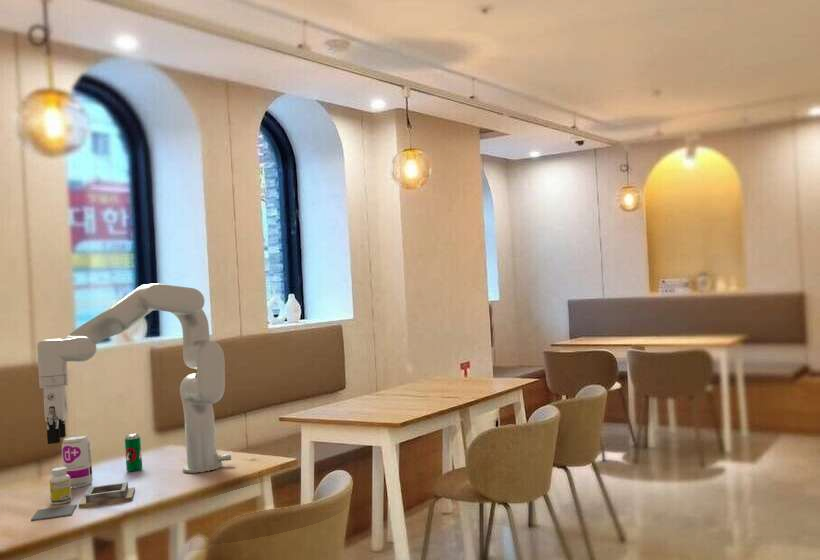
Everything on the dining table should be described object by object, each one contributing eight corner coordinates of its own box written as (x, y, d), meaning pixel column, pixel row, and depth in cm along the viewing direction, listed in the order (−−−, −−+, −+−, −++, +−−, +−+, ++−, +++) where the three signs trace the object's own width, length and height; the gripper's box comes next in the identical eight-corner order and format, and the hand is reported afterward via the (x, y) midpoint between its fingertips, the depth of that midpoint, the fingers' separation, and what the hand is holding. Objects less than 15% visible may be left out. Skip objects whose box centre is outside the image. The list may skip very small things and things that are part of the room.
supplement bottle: (55, 500, 221) (53, 467, 221) (74, 498, 222) (72, 465, 222) (48, 505, 216) (45, 471, 216) (67, 503, 216) (65, 469, 216)
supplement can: (82, 488, 234) (79, 440, 234) (58, 488, 235) (55, 440, 235) (98, 481, 242) (95, 434, 242) (75, 481, 243) (72, 435, 243)
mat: (76, 505, 213) (76, 504, 213) (71, 515, 204) (71, 513, 204) (38, 511, 211) (37, 509, 211) (30, 521, 201) (30, 519, 201)
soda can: (144, 470, 253) (141, 434, 253) (128, 473, 250) (126, 437, 250) (140, 468, 257) (138, 432, 257) (125, 470, 254) (122, 435, 254)
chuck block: (134, 490, 226) (134, 480, 226) (132, 500, 215) (131, 490, 215) (84, 497, 222) (84, 487, 222) (78, 508, 211) (78, 497, 211)
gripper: (62, 383, 212) (66, 444, 212) (72, 377, 228) (75, 434, 228) (33, 385, 210) (36, 447, 209) (44, 379, 226) (48, 436, 226)
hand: (56, 440), depth 219 cm, fingers open, 9 cm apart
